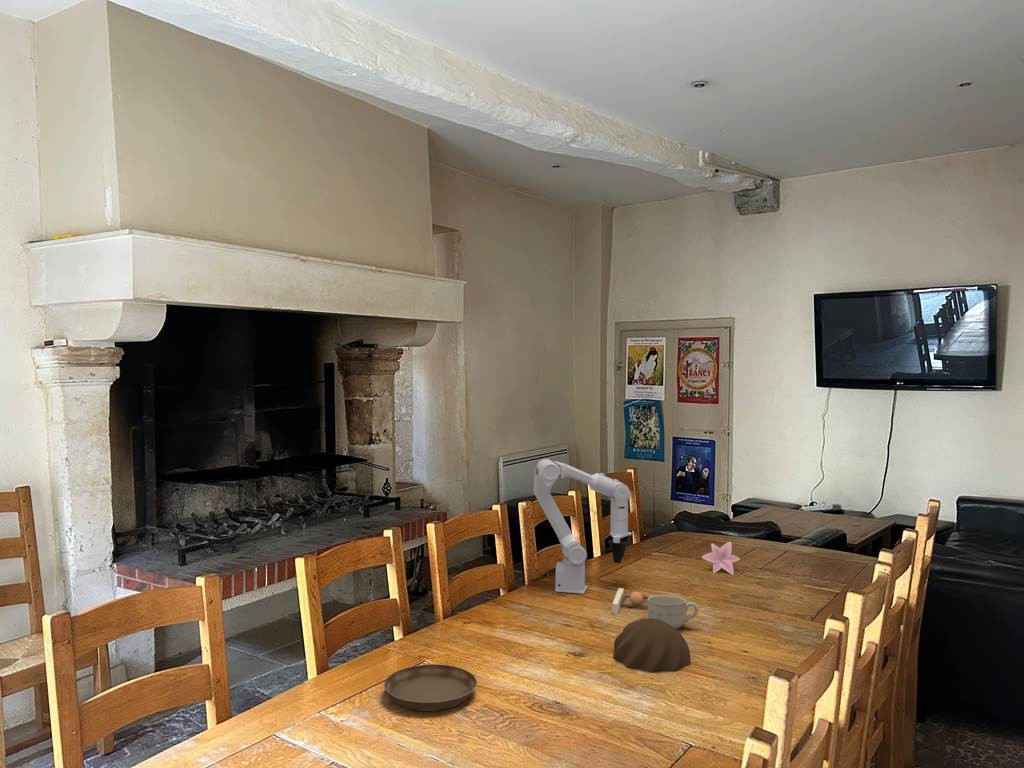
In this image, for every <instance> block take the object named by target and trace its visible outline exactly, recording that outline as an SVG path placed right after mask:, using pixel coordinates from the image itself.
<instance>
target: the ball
mask: <svg viewBox="0 0 1024 768" xmlns="http://www.w3.org/2000/svg"><path fill="white" fill-rule="evenodd" d="M630 595H631V596H630V600H631V602H632V603H633V604H639V605H640V604H641V603H642V602H643V596H644V595H643V594H642V593H641V592H640V591H634V592H632V593H631V594H630Z"/></svg>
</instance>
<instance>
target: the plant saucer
mask: <svg viewBox="0 0 1024 768" xmlns="http://www.w3.org/2000/svg"><path fill="white" fill-rule="evenodd" d="M477 685H478V679H477V678H476V676H475V675H474V674H473V673H471V671H469V670H467V669H464V668H461V667H458V666H454V665H448V664H432V663H431V664H418V665H414V666H409V667H405V668H402V669H399V670H397V671H394V672H393V673H392V674H390V675H389V676H388V677H386V678H385V680H384V682H383V687H384V690H385V692H386V694H388V696H389V697H390V698H391V700H393V701H394V702H395V703H396V704H398V705H400V706H401V707H403V708H406V709H408V710H413V711H420V712H436V711H441V710H448V709H450V708H453V707H456V706H459V705H460V704H462V703H463V702H464V701H466V700H467V699H468V698H469V697H470V696H471V695H472V694H473V692H474V691H475V689H476V687H477Z"/></svg>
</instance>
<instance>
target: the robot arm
mask: <svg viewBox="0 0 1024 768" xmlns="http://www.w3.org/2000/svg"><path fill="white" fill-rule="evenodd" d="M533 476H534V478H533V494H534V496H535V497H536V499H537V501H538V503H539V505H540V507H541V509H542V511H543V512H544V514H545V516H546V518H547V520H548V522H549V523H550V525H551V527H552V528H553V531H554V533H555V534H556V537H557V538H558V541H559V543H560V545H561V553H562V555H563V556H564V558H563V560H562V561H557V562H556V565H555V589H554V591H555V592H557V593H569V594H582V595H584V594H585V593H586V590H587V589H588V585H586V559H587V550H586V549H585V548H584V547H583V546H581V544H580V543H579V542H578V540H577V539H576V537H575V536H574V535H573V533H572V530H571V529H570V527H569V525H568V523H567V522H566V520H565V518H564V515H562V512H561V510H560V509H559V507H558V505H557V503H556V502H555V500H554V498H553V496H552V494H551V491H552V487H553V485H554V483H556V481H557V480H558V479H559V478H560V479H564V478H567V477H568V478H570V479H574V480H577V481H579V482H583V483H584V484H588V486H589V489H590V490H592V491H594V492H596V493H599V494H602V495H604V496H607V497H610V530H609V535H610V536H611V537H612V540H608V545H609V548H610V550H611V553H612V558H613V563H614V564H621V562H622V561H623V558H624V556H625V553H626V552H625V551H626V546H627V544H628V543H627V542H628V541H629V538H630V536H632V533H633V532H631V531H629V499H630V498H631V495H632V492H631V491H630V487H628V485H626V484H625V483H623V482H621V481H620V480H618V479H616V478H614V479H613V478H611V477H608V476H606V474H605V473H602V472H599V473H598V472H596V473H594V474H589V473H587V472H585V471H583V470H580V469H578V468H577V467H574V466H571V465H569V464H566V463H564V462H560V461H557V460H552V459H549V458H542V459H540V460H539V461H538V462H537V464H536V466H535V468H534V469H533Z"/></svg>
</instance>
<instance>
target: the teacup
mask: <svg viewBox="0 0 1024 768" xmlns="http://www.w3.org/2000/svg"><path fill="white" fill-rule="evenodd" d="M648 597H649V598H648V610H647V614H648V618H653V619H659V620H662V621H664V622H665V623H667V624H669V625H671V626H672V627H674V628H675V629H676V630H678V629H679V628H681V627H682V626H683V625H684V624H685V623H687V622H689V620H691V619H693V618H695V617H696V616H697V615H698V613H699V606H698V604H697V603H696V602H694V601H688V602H687V600H686V599H685V598H684V597H681V596H676V595H671V594H656V595H651V596H648ZM689 607H693V608H694V612H693V613H692V614H689V615H687V611H688V609H689Z"/></svg>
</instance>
